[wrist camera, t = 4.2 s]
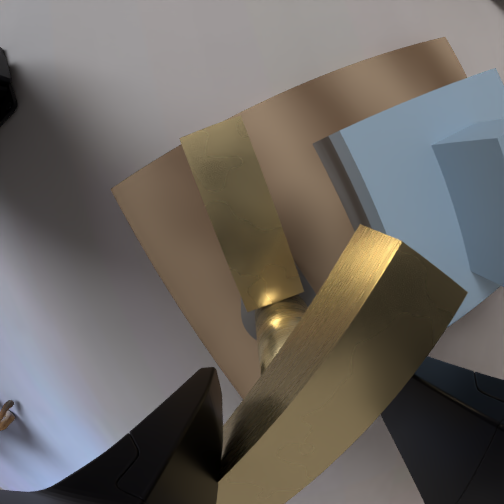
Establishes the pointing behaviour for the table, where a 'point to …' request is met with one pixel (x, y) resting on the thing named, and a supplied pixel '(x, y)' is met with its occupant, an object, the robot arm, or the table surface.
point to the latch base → (274, 194)
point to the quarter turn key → (310, 328)
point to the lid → (438, 179)
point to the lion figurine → (6, 415)
